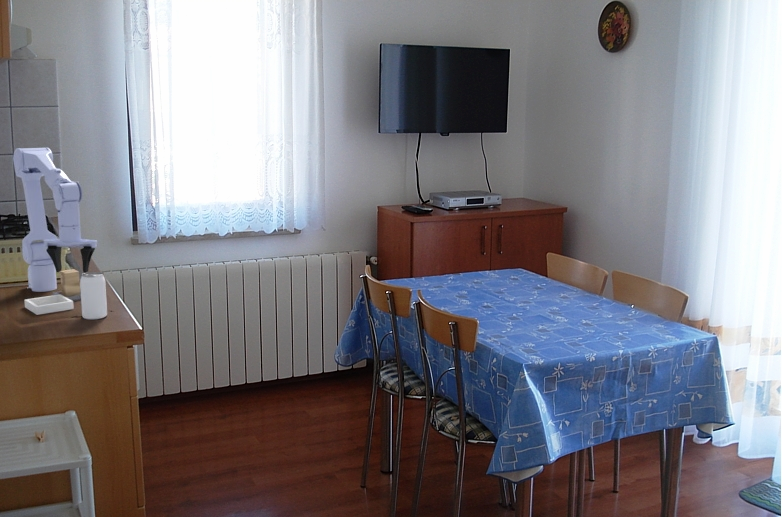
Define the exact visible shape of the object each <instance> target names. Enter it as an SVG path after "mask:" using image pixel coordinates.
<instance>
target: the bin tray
mask: <svg viewBox="0 0 782 517" xmlns="http://www.w3.org/2000/svg"><path fill="white" fill-rule="evenodd" d="M24 308H25V309H27V310H29V311H30V312H32V313H33V314H35V315H44V314H50V313H57V312H64V311H68V310H74V308H75V307H74V301H72V300H70V299H68V298H66V297H65V296H63V295H61V294H60V295H53V294H52V295H48V296H47V295H46V296H41V297H34V298H33V297H32V298H27V299H24Z"/></svg>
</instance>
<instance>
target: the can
mask: <svg viewBox="0 0 782 517" xmlns="http://www.w3.org/2000/svg"><path fill="white" fill-rule="evenodd" d="M80 276H81V277H80V278H79V282H80V290H81V300H80V301H81V302H80V303H81V304H80V305H81V316H82V318H83V319H85V320H87V321H88V320H90V321H91V320H92V321H93V320H94V321H95V320H101V319H104V318H106V317H107V316H108V306H107V305H108V303H107V291H106V290H107V288H106V286H107V285H106V278H105V277H104V273H103V272H100V271H99V272H97V271H96V272H95V271H94V272H93V271H91V272H86V273H82V274H81V275H80Z"/></svg>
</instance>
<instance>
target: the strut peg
mask: <svg viewBox="0 0 782 517" xmlns="http://www.w3.org/2000/svg"><path fill="white" fill-rule="evenodd" d="M59 274H60V276H59V277H60V287H61V289H60V291H62V295H63V296H72V295H78V294H80V272H79V270H76V269H75V268H72V269H66V270H61V271H60V272H59Z"/></svg>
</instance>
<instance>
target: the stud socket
mask: <svg viewBox="0 0 782 517" xmlns="http://www.w3.org/2000/svg"><path fill="white" fill-rule="evenodd" d="M51 294H52V296H53V295H60V294H61V295H62V290H60V291H54V292H52V293H51ZM65 297H66V298H68V299H70V300H72V301H73V302H77V301H81V290H80V294H78V295H72V296H65Z"/></svg>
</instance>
